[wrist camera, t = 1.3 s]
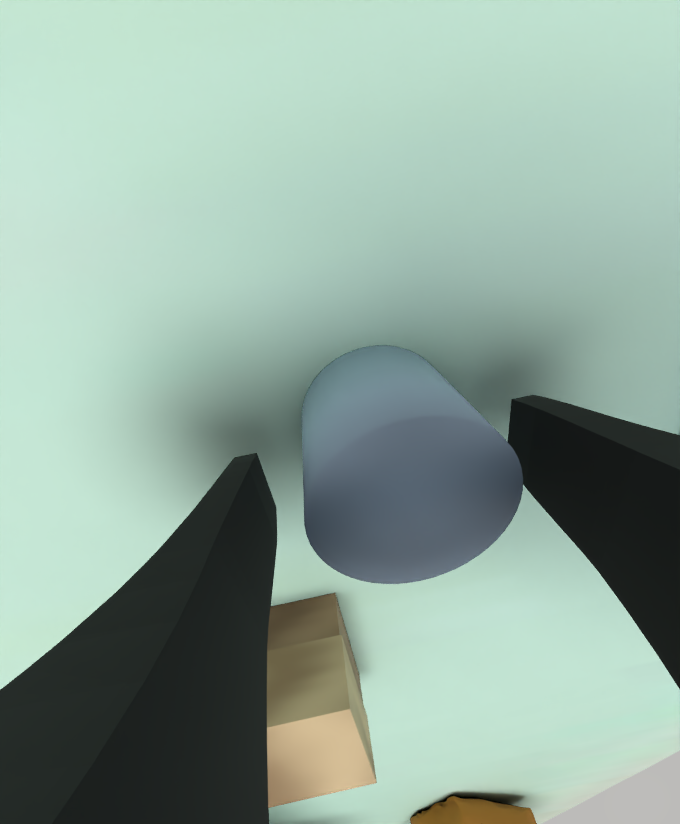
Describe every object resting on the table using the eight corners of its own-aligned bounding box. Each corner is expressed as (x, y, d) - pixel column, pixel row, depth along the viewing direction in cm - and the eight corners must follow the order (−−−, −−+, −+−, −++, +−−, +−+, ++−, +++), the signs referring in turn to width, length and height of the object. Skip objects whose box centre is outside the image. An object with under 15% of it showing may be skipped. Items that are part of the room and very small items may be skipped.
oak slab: (341, 634, 14) (349, 709, 12) (366, 715, 18) (376, 782, 16) (152, 676, 14) (125, 759, 12) (218, 748, 18) (207, 821, 16)
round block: (444, 330, 10) (534, 392, 6) (446, 458, 13) (513, 560, 9) (285, 362, 10) (278, 445, 6) (317, 485, 13) (327, 600, 9)
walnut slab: (334, 582, 16) (340, 636, 14) (357, 664, 20) (364, 717, 18) (170, 617, 16) (150, 677, 14) (225, 693, 20) (217, 749, 18)
